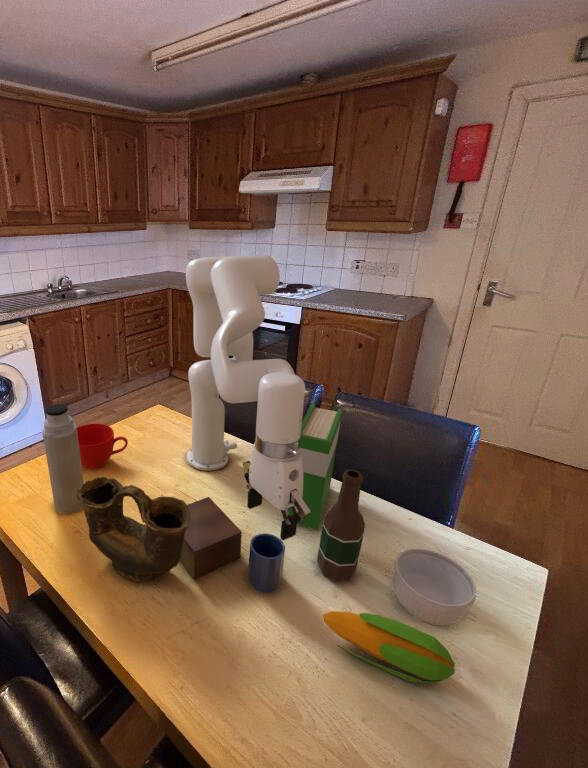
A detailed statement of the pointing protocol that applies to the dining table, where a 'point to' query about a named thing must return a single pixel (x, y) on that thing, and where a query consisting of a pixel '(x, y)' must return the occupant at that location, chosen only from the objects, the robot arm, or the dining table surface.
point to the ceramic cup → (97, 444)
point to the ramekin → (432, 586)
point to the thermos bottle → (63, 458)
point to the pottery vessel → (134, 528)
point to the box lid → (208, 526)
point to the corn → (394, 645)
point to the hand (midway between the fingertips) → (270, 520)
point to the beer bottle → (342, 531)
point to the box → (211, 557)
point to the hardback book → (317, 460)
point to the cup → (266, 562)
